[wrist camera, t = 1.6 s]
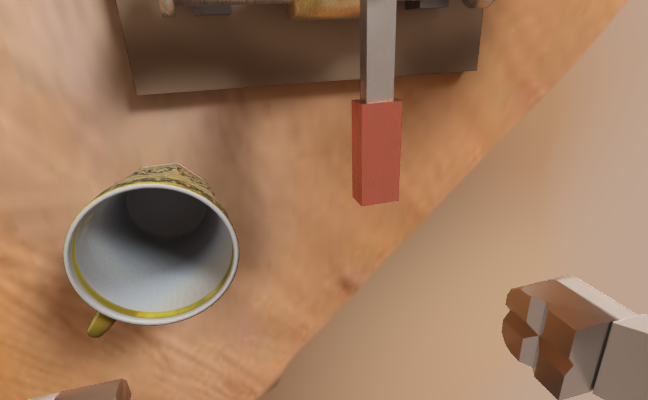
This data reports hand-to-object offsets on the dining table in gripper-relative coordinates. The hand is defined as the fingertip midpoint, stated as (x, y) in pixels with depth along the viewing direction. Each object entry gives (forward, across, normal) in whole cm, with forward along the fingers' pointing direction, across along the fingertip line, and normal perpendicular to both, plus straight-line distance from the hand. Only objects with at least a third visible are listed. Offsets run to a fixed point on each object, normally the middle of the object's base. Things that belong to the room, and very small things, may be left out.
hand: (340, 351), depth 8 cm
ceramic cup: (+27, +8, +7) cm, 29 cm away
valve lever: (+17, -7, -4) cm, 19 cm away
